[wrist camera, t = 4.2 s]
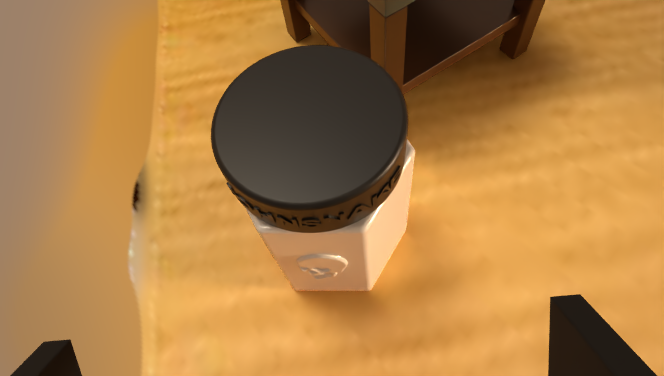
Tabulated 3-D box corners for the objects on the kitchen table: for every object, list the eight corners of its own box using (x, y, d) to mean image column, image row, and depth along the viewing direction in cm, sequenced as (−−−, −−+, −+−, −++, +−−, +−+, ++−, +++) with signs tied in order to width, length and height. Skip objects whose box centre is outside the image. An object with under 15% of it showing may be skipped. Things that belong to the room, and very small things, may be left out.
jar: (257, 294, 28) (182, 211, 18) (270, 175, 32) (214, 47, 21) (408, 296, 27) (425, 208, 17) (403, 172, 31) (414, 38, 20)
